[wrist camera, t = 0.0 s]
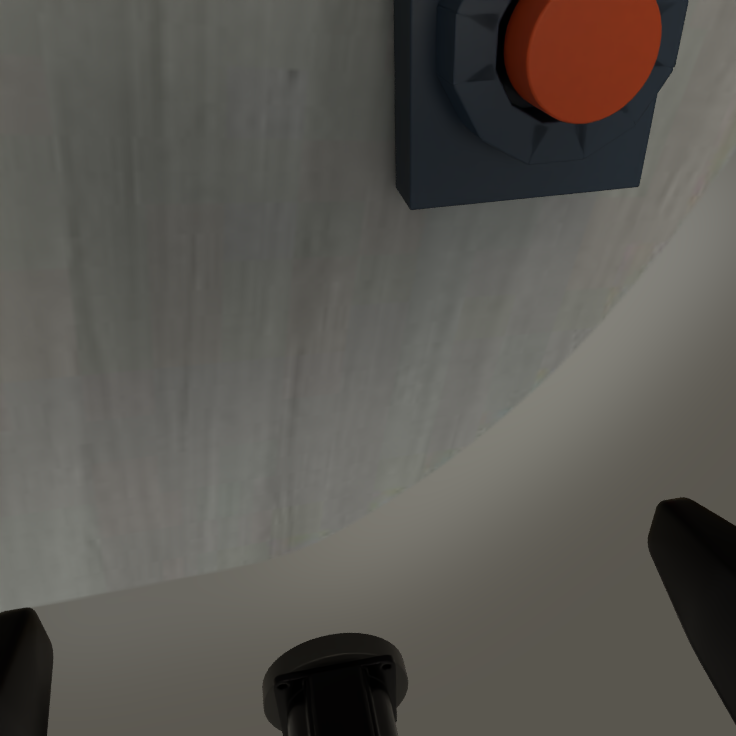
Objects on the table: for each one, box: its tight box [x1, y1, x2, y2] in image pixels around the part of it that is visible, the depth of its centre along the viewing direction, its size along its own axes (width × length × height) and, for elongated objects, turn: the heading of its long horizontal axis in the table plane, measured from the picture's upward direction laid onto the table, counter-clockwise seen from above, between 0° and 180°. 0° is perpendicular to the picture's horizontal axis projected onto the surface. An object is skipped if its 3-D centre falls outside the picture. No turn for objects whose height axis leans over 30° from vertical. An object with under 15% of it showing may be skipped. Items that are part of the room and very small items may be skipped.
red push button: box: [504, 0, 662, 124], centre depth 18 cm, size 4×4×2 cm
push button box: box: [394, 0, 688, 210], centre depth 20 cm, size 10×8×4 cm
